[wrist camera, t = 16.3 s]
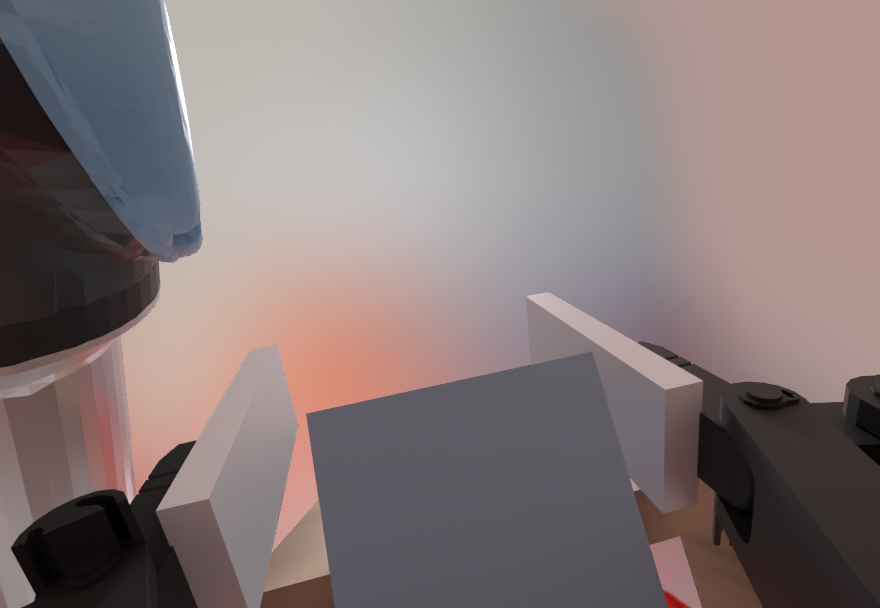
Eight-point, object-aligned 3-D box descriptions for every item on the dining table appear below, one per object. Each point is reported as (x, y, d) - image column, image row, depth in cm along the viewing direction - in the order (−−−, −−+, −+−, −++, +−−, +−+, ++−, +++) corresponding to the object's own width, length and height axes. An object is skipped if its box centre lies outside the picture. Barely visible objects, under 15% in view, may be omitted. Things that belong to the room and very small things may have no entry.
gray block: (360, 782, 5) (306, 413, 6) (388, 481, 26) (375, 413, 27) (686, 670, 5) (591, 351, 6) (453, 465, 27) (439, 399, 28)
